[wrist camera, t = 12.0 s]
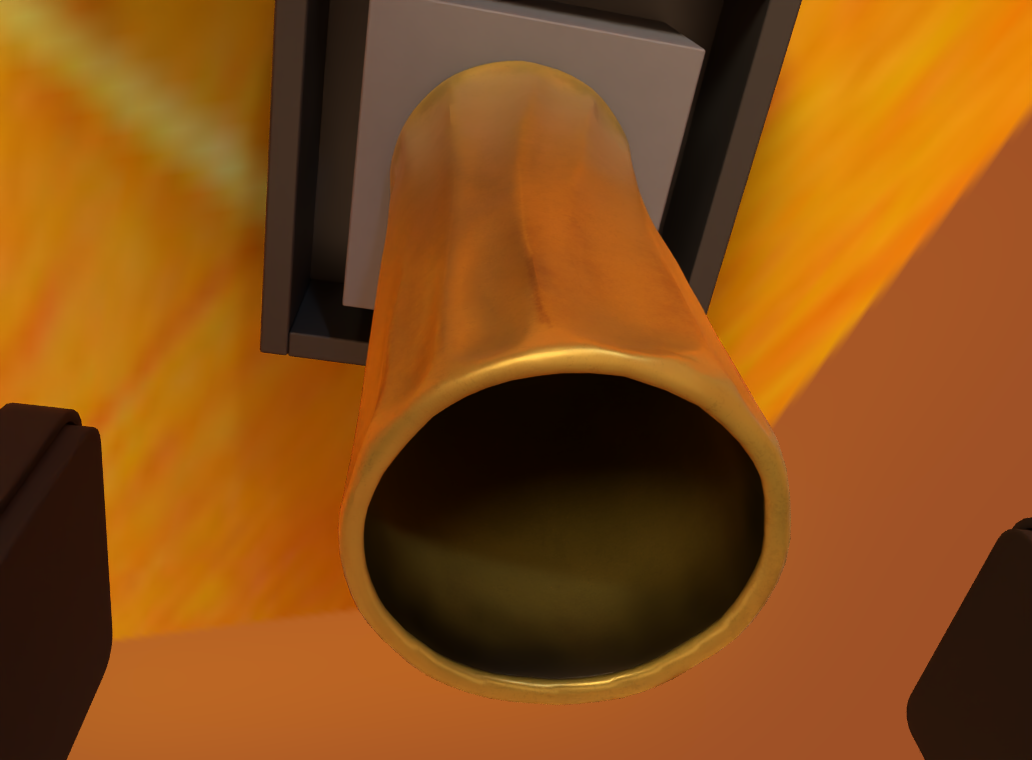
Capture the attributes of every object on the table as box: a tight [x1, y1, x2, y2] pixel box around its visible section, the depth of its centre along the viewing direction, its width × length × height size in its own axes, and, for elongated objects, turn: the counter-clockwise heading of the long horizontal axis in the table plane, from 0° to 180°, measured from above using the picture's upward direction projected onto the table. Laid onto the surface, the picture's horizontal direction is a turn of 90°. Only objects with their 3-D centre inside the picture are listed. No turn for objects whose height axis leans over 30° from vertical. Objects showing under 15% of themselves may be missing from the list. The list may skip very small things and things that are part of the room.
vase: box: [338, 61, 791, 705], centre depth 16 cm, size 6×6×14 cm
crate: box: [260, 0, 802, 366], centre depth 25 cm, size 13×13×4 cm
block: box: [342, 0, 705, 310], centre depth 25 cm, size 8×8×5 cm
